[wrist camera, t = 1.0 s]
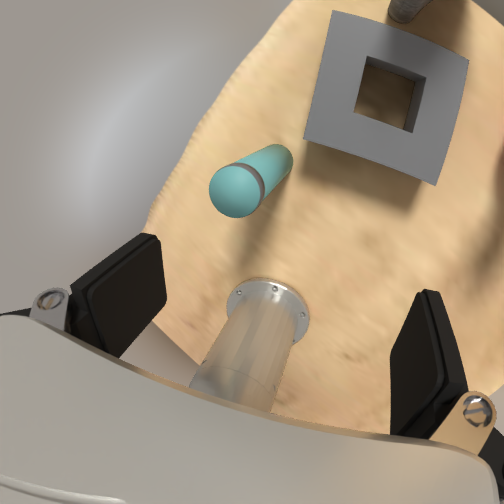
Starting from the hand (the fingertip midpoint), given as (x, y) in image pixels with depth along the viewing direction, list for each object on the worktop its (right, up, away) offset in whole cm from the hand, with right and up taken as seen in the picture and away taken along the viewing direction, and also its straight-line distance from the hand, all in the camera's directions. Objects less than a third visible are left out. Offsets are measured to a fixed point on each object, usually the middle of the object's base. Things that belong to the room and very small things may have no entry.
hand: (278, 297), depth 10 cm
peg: (+2, +12, +24) cm, 27 cm away
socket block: (+13, +18, +16) cm, 28 cm away
